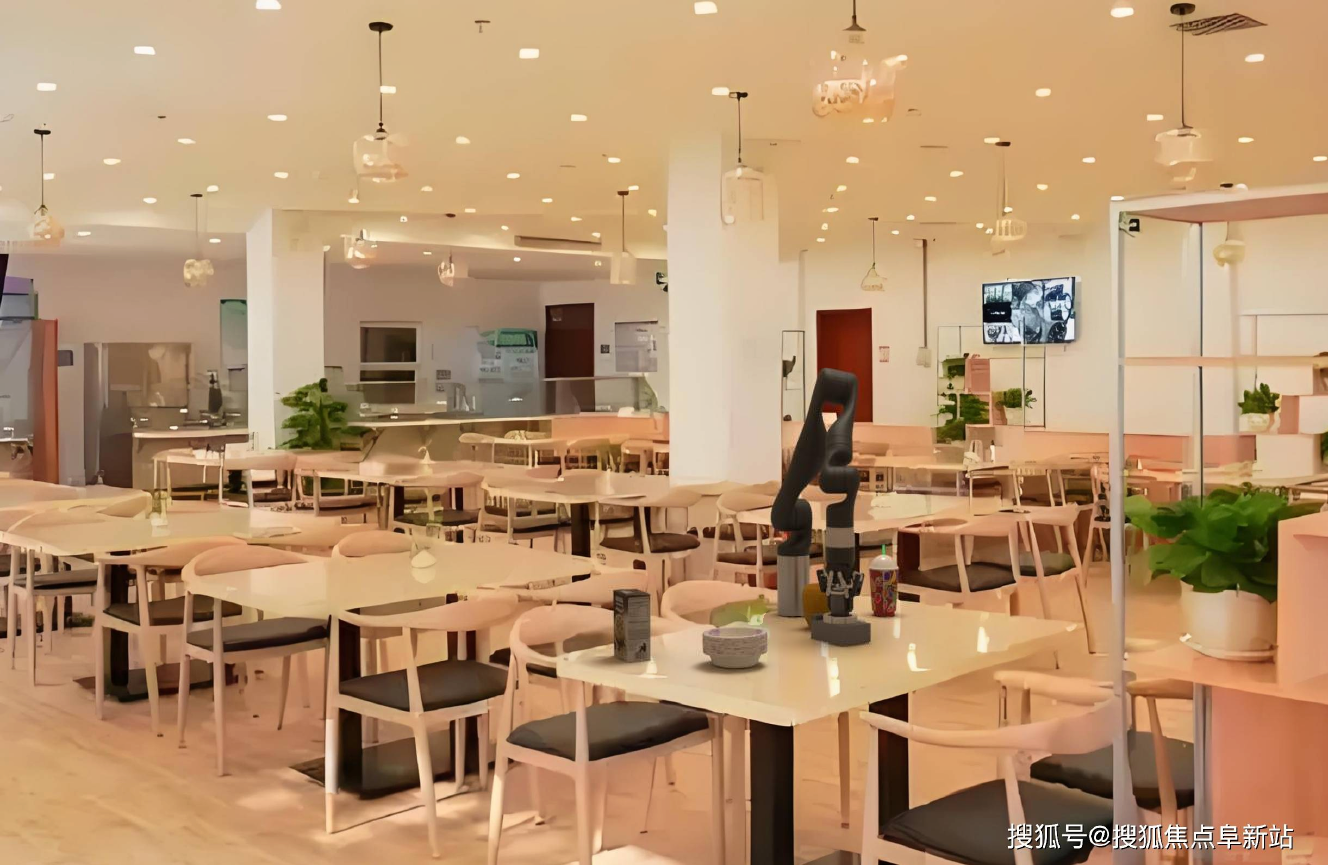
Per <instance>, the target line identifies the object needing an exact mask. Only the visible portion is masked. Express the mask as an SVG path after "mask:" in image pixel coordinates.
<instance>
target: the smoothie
mask: <svg viewBox="0 0 1328 865" xmlns="http://www.w3.org/2000/svg"><path fill="white" fill-rule="evenodd" d="M885 546H886V545H885V544H882V554H879V555H877V556H876V557H874V558H873V559H872V561H871V563H870V565H869V566H868V572H869V573H868V574H869V584H870V585H869V586H870V588H869V589H870V590H869V591H870V601H871V602H870V603H871V611H872V613H873V615H874V616H875V615H876V617H880V616H890V617H893V616H895V612H896V611H897V602H898V600H897V599H898V584H899V569H900V567H899V566H898V564H897V562H896V560H895V559H894V557H892V556H890V555H887V554H886V547H885Z"/></svg>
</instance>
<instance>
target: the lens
mask: <svg viewBox="0 0 1328 865" xmlns="http://www.w3.org/2000/svg"><path fill="white" fill-rule="evenodd" d="M848 590H849V589H848ZM845 598H846V597H845V594H844V590H843V589H842V587H841V586H839V587H833V588H832V589H831V616H833V617H849V613H850V612H849V613H846V612H845Z"/></svg>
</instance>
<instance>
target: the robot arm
mask: <svg viewBox="0 0 1328 865" xmlns="http://www.w3.org/2000/svg"><path fill="white" fill-rule="evenodd" d="M812 391H813V392H812V395H811V398H810V402H809V405H808V410H807V413H806V417H805V420H804V422H803V425H802V428H801V431H800V434H799V436H798V439H797V441H796V444H795V446H794V451H793V453H792V457H791V461H790V463H789V466H788V469H787V472H786V474H785V477H784V480H783V482H782V484H781V486H780V489H779V491H778V492H777V495H776V497H775V500H774V501H773V504H772V506H771V511H770V523H771V526H772V528H773V529H774V530H775V531H777V532H784V533H786V532H790V534H789V537H788V538H786V539H785V540H784V541H782V542H780V543H778V545H777V546H776V569H777V570H776V571H777V575H776V577H777V578H776V579H777V580H776V583H777V584H776V586H777V587H776V588H777V590H776V591H777V595H776V596H777V599H776V600H777V602H776V603H777V606H776V607H777V612H776V613H777V615H778V616H780V615H781V616H780V617H787V616H802V617H805V616H804V612H803V607H802V592H803V589H804V587H805V586H806V585H808V584H811V582H810V576H811V575H810V574H811V572H810V570H811V569H810V548H811V547H812V546H811V545H812V538H813V518H814V517H813V510H812V505H811V504H810V501H808V500H807V499H805V498H801V497H800V495H802V493H803V491H804V490H805V489H806V488H807V486H808V485H810V483H812V482H813V481H814V479H815V478H817V476H818V487H819V490H820V491H822V493H824V494H827V495H846V496H845V498H844V499H842V501H838V502H834V503H830V504H828V505H827V506H826V507H825V516H826V517H825V534H824V553H825V554H824V560H825V563H826V565H825V568H820V569H819V568H818V569H816V572H815V574H816V577H817V581H818V583H819V586H820V591H821V592H822V593H823V592H824V593H825V594H826V595H827V603H828V604H827V606H828V608H829V610H831V589H832V588H833V587H838V586H840V587H842V589H843V590H844V594H845V597H846V598H845V612H846V613H853V611H854V598H855V597H857V596H860V595H861V592H862V589H863V584H864V579H865V573H863V572H859V571H856V569H855V566H854V564H855V562H856V537H855V536H856V535H855V529H854V528H855V523H854V521H855V518H854V516H855V512H854V510H855V504H856V499H857V496H858V492H859V489H860V485H861V481H862V480H861V476H862V475H861V472H860V470H859V469H858V468H857V467H855V466H849V465H850V464H851V463H852V461H853V457H854V455H853V454H854V453H853V451H854V449H853V447H854V446H853V445H854V443H853V442H854V441H853V432H854V424H855V418H856V412H857V410H856V409H857V404H858V403H857V402H858V394H859V381H858V377H857V375H855V374H854V373H851V372H847V371H842V370H838V369H833V368H830V367H829V368H828V367H824V368H822V369H821V370H820V371H819V373H818V375H817V377H816V381H815V383H814V388H813V390H812ZM825 403H827V404H832V405H836V406H842V412H840V415H839V416H838V417H837V418H836V420H834V422H833V423H832V424H831V425H830V427H829V428H828V429H827V428H826V426H825V422H824V421H825V420H824V417H823V407H824V405H825ZM799 497H800V498H799ZM848 589H849V590H848Z"/></svg>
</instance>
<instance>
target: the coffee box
mask: <svg viewBox="0 0 1328 865" xmlns="http://www.w3.org/2000/svg"><path fill="white" fill-rule="evenodd" d="M612 592H613V594H612V596H613V597H612V598H613V606H612V607H613V656H615V657H617V658H618V659H620V660H622V659H623V660H622V661H624V660H625V661H624V662H626V663H633V662H635V661H637V662H642V661H641V660H648V661H651V657H652V656H651V593H649V592H646V591H643V590H641V589H638V588H631V589H629V588H621V589H613V590H612ZM635 663H636V662H635Z"/></svg>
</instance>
